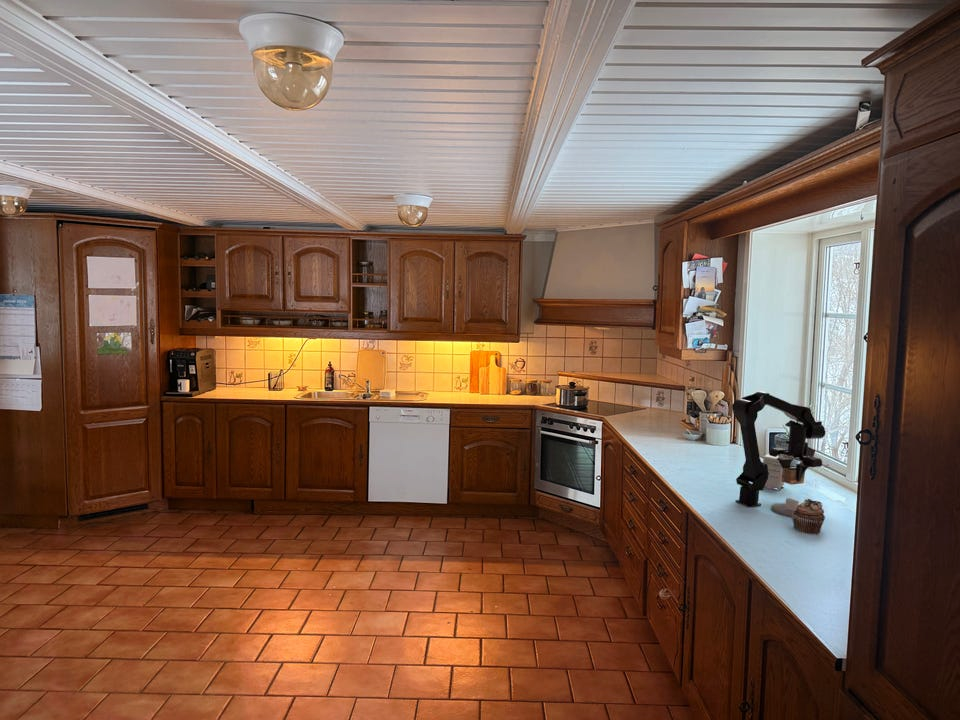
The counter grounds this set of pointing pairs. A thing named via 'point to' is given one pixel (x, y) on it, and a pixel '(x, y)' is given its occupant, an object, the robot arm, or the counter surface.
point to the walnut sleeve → (791, 476)
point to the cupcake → (808, 517)
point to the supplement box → (773, 472)
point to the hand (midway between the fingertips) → (792, 479)
